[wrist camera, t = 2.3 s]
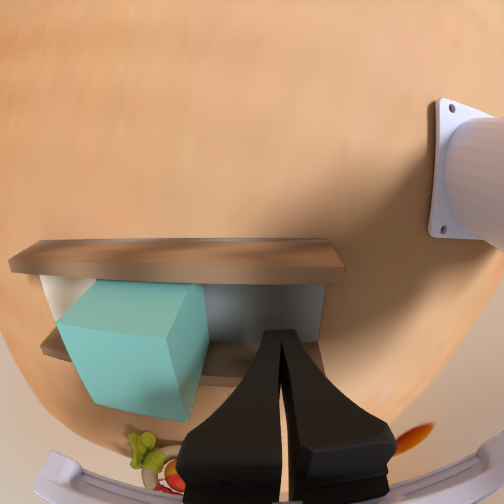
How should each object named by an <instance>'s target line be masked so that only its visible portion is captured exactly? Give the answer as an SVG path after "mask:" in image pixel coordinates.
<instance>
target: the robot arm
mask: <svg viewBox="0 0 504 504" xmlns="http://www.w3.org/2000/svg"><path fill="white" fill-rule="evenodd" d="M449 105H450V106H451V109H452V112H450V110H449ZM442 226H444V229H443V231H442V232H441V227H442ZM428 232H429V234H430V235H431V236H433V237H435V238H455V239H477V240H484V241H486V242H488V243H489V244H491V245H492V246H494V247H496V248H497V249H499V250H501V251H502V252H504V118H496V117H494V116H491V115H489V114H487V113H484V112H482V111H479V110H477V109H474V108H472V107H469V106H466V105H464V104H461V103H458V102H455V101H452V100H449V99H446V98H439V99H437V101H436V153H435V171H434V183H433V193H432V202H431V210H430V217H429V224H428ZM280 384H281V388H282V395H283V401H284V408H285V414H286V421H287V432H288V470H289V502H279V494H280V486H281V475H282V442H281V426H280V408H279V398H280ZM396 449H397V444H396V441H395V438H394V435H393V433H392V432H391V430H390V428H389V426H388V424H387V423H386V422H384V421H382V420H380V419H379V418H377V417H375V416H373V415H371V414H369V413H368V412H366V411H365V410H363V409H362V408H360V407H359V406H358V405H356V404H355V403H354V402H353V401H351V400H350V399H349V398H348V397H346V396H345V395H344V394H343V393H342V392H341V391H339V390H338V389H337V388H336V387H335V386H334V385H333V384H332V383H331V382H330V381H329V380H328V378H327V377H326V376H325V375H324V374H323V373H322V371H321V370H320V369H319V368H318V366H317V365H316V364H315V362H314V361H313V359H312V358H311V357H310V355H309V354H308V352H307V351H306V349H305V347H304V346H303V344H302V342H301V340H300V338H299V336H298V334H297V331H296V330H295V329H284V330H266V331H264V333H263V338H262V341H261V344H260V347H259V349H258V352H257V354H256V356H255V358H254V360H253V362H252V364H251V366H250V368H249V369H248V371H247V373H246V375H245V376H244V378H243V379H242V381H241V382H240V384H239V385H238V386H237V388H236V389H235V390H234V392H233V393H232V394H231V395H230V396H229V397H228V399H227V400H226V401H225V402H224V403H223V404H222V405H221V406H220V407H219V408H218V409H217V410H216V411H215V412H214V413H213V414H212V415H211V416H210V417H208V418H207V419H206V420H205V421H204V422H202V423H201V424H200V425H198V426H197V427H196V428H194V429H193V430H192V431H190V432H189V433H188V434H187V436H186V437H185V439H184V441H183V443H182V446H181V448H180V450H179V453H178V457H177V461H176V466H175V469H176V472H177V473H178V475H179V476H180V477H181V479H182V480H183V481H184V483H185V484H186V485H185V490H184V495H183V496H179V495H174V494H168V493H163V492H159V491H154V490H150V489H145V488H141V487H137V486H134V485H130V484H126V483H123V482H120V481H117V480H113V479H110V478H107V477H104V476H101V475H99V474H96V473H93V472H90V471H88V470H85V469H83V468H82V466H81V465H80V464H79V463H77V462H76V461H75V460H73V459H71V458H69V457H67V456H65V455H62V454H60V453H58V452H56V451H54V450H51V452H50V454H49V456H48V458H47V460H46V462H45V464H44V466H43V468H42V470H41V472H40V474H39V476H38V478H37V480H36V482H35V485H34V487H33V489H32V490H33V492H35V493H36V494H38V495H39V496H41V497H42V498H43V499H45V500H46V501H48V502H49V503H51V504H476V503H478V502H480V501H481V500H483V499H485V498H486V497H488V496H490V495H491V494H493V493H494V492H495V491H497V490H498V489H499V488H501V487H502V486H503V485H504V431H502V432H501V433H499V434H497V435H495V436H494V437H492V438H490V439H488V440H487V441H486V442H484V443H483V444H482V445H481V446H480V447H479V448H478V450H477V451H476V452H474V453H472V454H470V455H468V456H466V457H464V458H462V459H460V460H458V461H455V462H453V463H451V464H448V465H446V466H444V467H441V468H439V469H436V470H434V471H431V472H429V473H426V474H423V475H420V476H417V477H414V478H411V479H408V480H405V481H403V482H399V483H395V484H392V485H388V480H387V476H386V475H387V474H388V468H387V463H388V461H389V460H390V459H391V457H392V456H393V455H394V453H395V451H396Z"/></svg>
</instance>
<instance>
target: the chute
mask: <svg viewBox="0 0 504 504" xmlns="http://www.w3.org/2000/svg"><path fill="white" fill-rule="evenodd" d="M8 262H9V266H10V269H11V272H14V273H25V274H36V275H39V276H40V279H41V283H42V286H43V289H44V292H45V295H46V298H47V301H48V304H49V307H50V310H51V312H52V315H53V318H54V320H55V321H57V320H58V319H59V318H60V317H61V316H62V315H63V314H64V313H65V312H66V311H67V310H68V309H69V308H70V307H71V306H72V305H73V304H74V303H75V302H76V301H77V300H78V299H79V298H80V297H81V296H82V295H83V294H84V293H85V292H86V291H87V290H88V289H89V288H90V287H91V286H92V285H93V284H94V283H95V282H96V281H97V280H98V279H107V280H126V281H147V282H172V283H203V287H204V297H205V306H206V316H207V324H208V333H209V345H208V349H207V353H206V357H205V361H204V365H203V369H202V372H201V376H200V380H199V385H211V386H227V387H237V386H238V385H239V384H240V382H241V381H242V379H243V378H244V376H245V375H246V373H247V371H248V369H249V368H250V366H251V364H252V362H253V360H254V358H255V356H256V354H257V352H258V349H259V347H260V344H261V341H262V338H263V333H264V331H266V330H284V329H295V330H296V331H297V334H298V336H299V338H300V340H301V342H302V344H303V346H304V347H305V349H306V351H307V352H308V354H309V355H310V357H311V358H312V359H313V361H314V362H315V364H316V365H317V366H318V368H319V369H320V370H321V371H322V373H323V374H324V375H325V372H324V367H323V363H322V358H321V354H320V349H319V345H318V337H319V330H320V324H321V317H322V310H323V302H324V294H325V286H326V284H343V279H344V272H345V266H344V264H343V262H342V261H341V259H340V257H339V256H338V254H337V253H336V251H335V249H334V248H333V246H332V245H331V243H330V241H329V240H328V239H280V238H161V239H85V240H41V241H39V242H37V243H35V244H34V245H32V246H30V247H29V248H27V249H25V250H24V251H22V252H20V253H19V254H17V255H15V256H14V257H12V258H11V259H9V260H8ZM40 347H41V349H42V351H43V354H44V355H47V356H51V357H54V358H57V359H61V360H64V361H68V362H72V360H71V358H70V355H69V353H68V351H67V349H66V347H65V344H64V342H63V340H62V337H61V335H60V333H59V330H58V328H57V327H56V328H55V329H54V330H53V331H52V332H51V334H50V335H49V336H48V337H47V338H46V339H45V340H44V341H43V342H42V344H41V345H40ZM72 363H73V362H72ZM280 388H281V384H280Z"/></svg>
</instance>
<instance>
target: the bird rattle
mask: <svg viewBox="0 0 504 504" xmlns="http://www.w3.org/2000/svg"><path fill="white" fill-rule="evenodd" d="M128 439H129V442H130V444H131V446H132V448H133V453H132V461H131V463H130V465H131V467H132V468H133V469H140V468H142V480H143V484H144V486H145V488H146V489H150V490H154V491H159V492H163V493H168V494H174V495H179V496H183V495H184V494H181V493H178V492H184V490H185V485H186V484H185V483H184V481H183V480H182V479H181V477H180V476H179V475H178V473H177V472H176V469H175V466H176V461H177V460H174V461H172V462H170V463H169V464H168V465H167V467H166V468H165V472H164V474H165V479H158V473H160V472H162V468H163V465H164V464H166V463H167V462H168V461H169V460H172V459H177V457H178V453H179V450H180V448H181V446H182V445H171V446H166V447H162V448H157V449H155V448H154V447H155V444H156V438H155V435H154V434H152V433H151V432H149V431H147V432H144V433H143V434H142V435H138V434H137V433H135V432H133V433H130V434H128ZM162 480H166V482H167V483H168V485H169V486H170V487H171V488H172V489H174V490H176V491H178V492H173V491H172V490H171V489H169V488H167V487H165V486H163V485H161V484H160V483H159V481H162Z"/></svg>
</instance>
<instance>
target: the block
mask: <svg viewBox="0 0 504 504" xmlns="http://www.w3.org/2000/svg"><path fill="white" fill-rule="evenodd" d="M55 323H56V325H57V328H58V330H59V333H60V335H61V337H62V340H63V342H64V344H65V347H66V349H67V351H68V353H69V355H70V358H71V360H72V362H73V364H74V366H75V368H76V370H77V372H78V374H79V376H80V378H81V380H82V382H83V383H84V385H85V387H86V389H87V391H88V393H89V394H90V396H91V398H92V400H93V401H94V403H96V404H99V405H103V406H107V407H110V408H114V409H118V410H123V411H127V412H131V413H136V414H141V415H146V416H151V417H157V418H162V419H169V420H175V421H182V422H189V420H190V416H191V412H192V408H193V404H194V400H195V396H196V392H197V388H198V384H199V380H200V376H201V372H202V369H203V365H204V361H205V357H206V353H207V349H208V345H209V333H208V324H207V316H206V306H205V297H204V287H203V283H172V282H147V281H126V280H107V279H98V280H97V281H96V282H95V283H94V284H93V285H92V286H91V287H90V288H89V289H88V290H87V291H86V292H85V293H84V294H83V295H82V296H81V297H80V298H79V299H78V300H77V301H76V302H75V303H74V304H73V305H72V306H71V307H70V308H69V309H68V310H67V311H66V312H65V313H64V314H63V315H62V316H61V317H60V318H59V319H58V320H57V321H56V322H55Z"/></svg>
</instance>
